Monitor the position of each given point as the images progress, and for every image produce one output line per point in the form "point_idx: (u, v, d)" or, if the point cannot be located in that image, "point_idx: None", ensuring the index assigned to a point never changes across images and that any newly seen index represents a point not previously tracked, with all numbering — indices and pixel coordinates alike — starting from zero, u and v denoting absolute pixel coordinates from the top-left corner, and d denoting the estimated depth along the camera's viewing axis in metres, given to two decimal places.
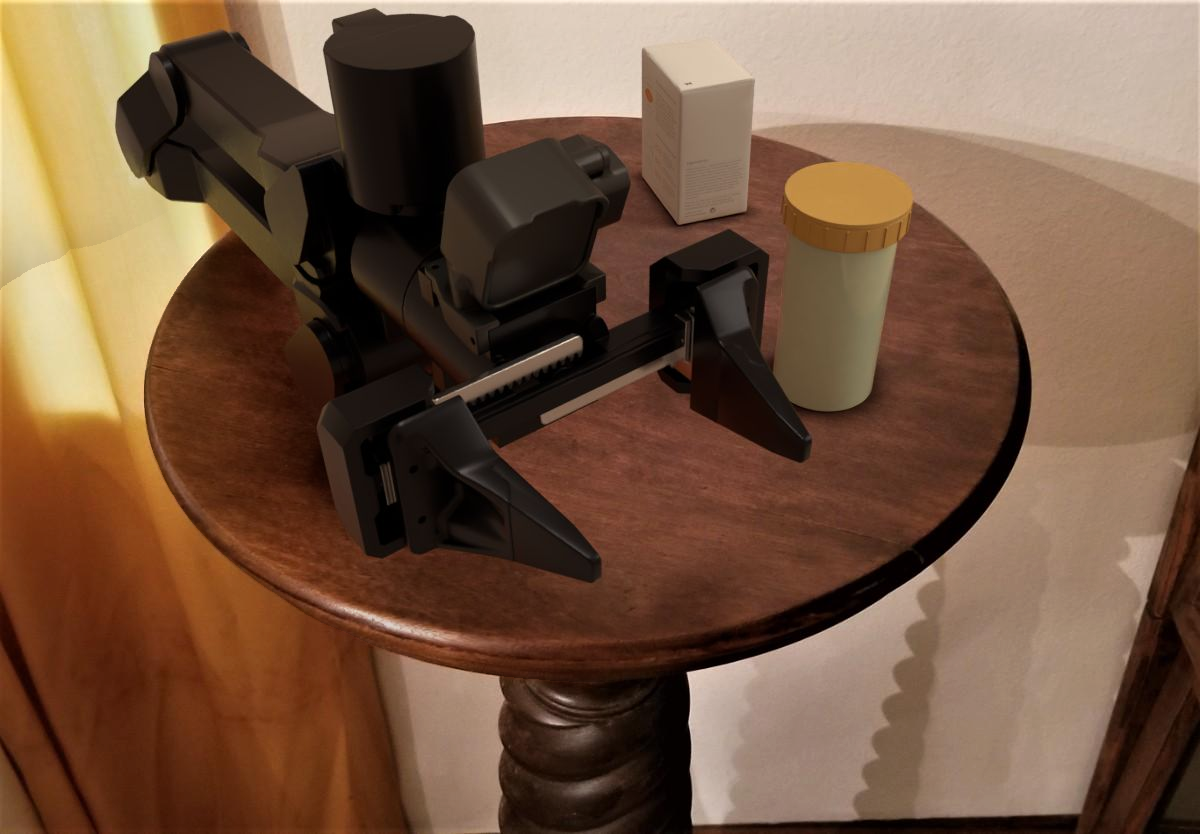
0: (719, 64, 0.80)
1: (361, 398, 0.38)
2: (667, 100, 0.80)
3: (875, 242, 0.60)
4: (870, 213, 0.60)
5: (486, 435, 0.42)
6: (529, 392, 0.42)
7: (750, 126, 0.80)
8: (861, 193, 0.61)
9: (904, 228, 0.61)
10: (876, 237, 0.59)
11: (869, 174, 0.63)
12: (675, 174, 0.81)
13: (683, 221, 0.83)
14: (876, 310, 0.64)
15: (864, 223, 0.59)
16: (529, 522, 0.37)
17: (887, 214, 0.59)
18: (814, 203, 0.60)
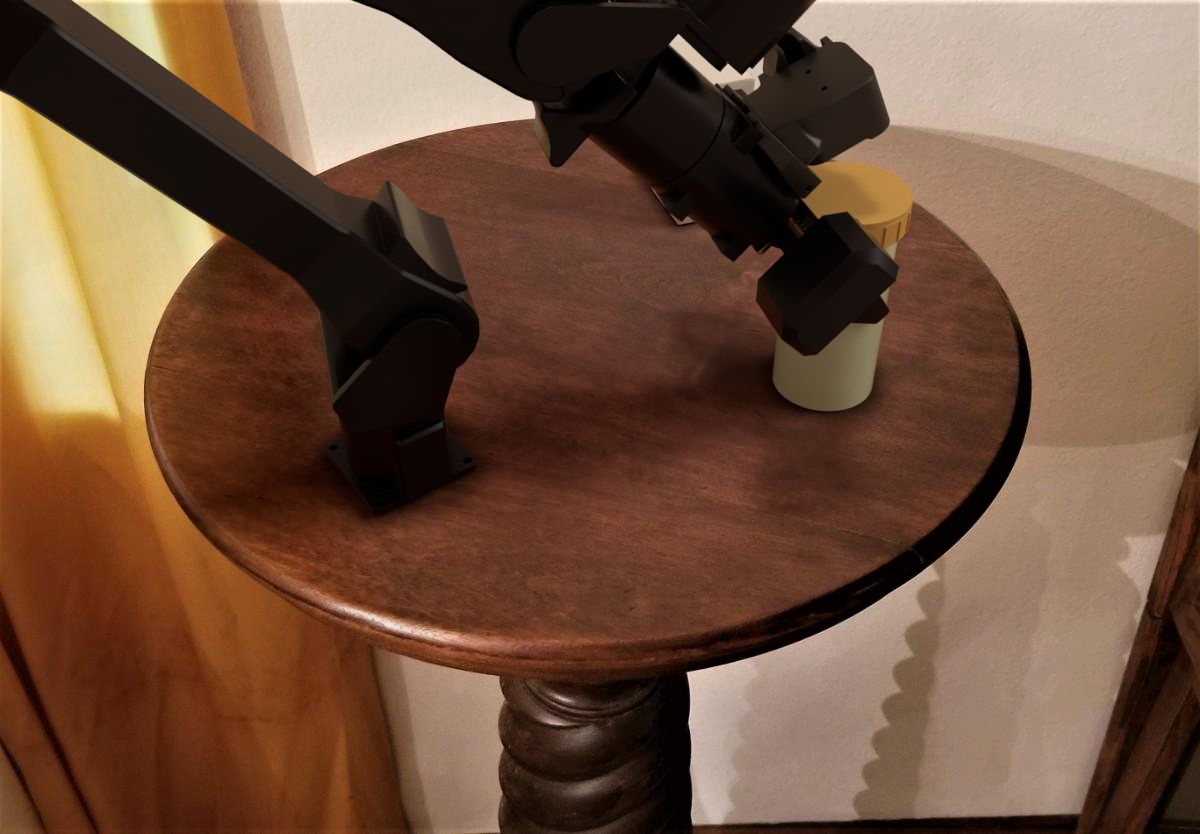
0: None
1: (875, 243, 0.54)
2: None
3: None
4: (869, 213, 0.60)
5: None
6: (788, 221, 0.59)
7: None
8: (861, 193, 0.61)
9: (904, 228, 0.61)
10: (875, 237, 0.59)
11: (869, 174, 0.63)
12: None
13: (683, 221, 0.83)
14: None
15: (863, 223, 0.59)
16: None
17: (886, 214, 0.59)
18: (814, 202, 0.60)
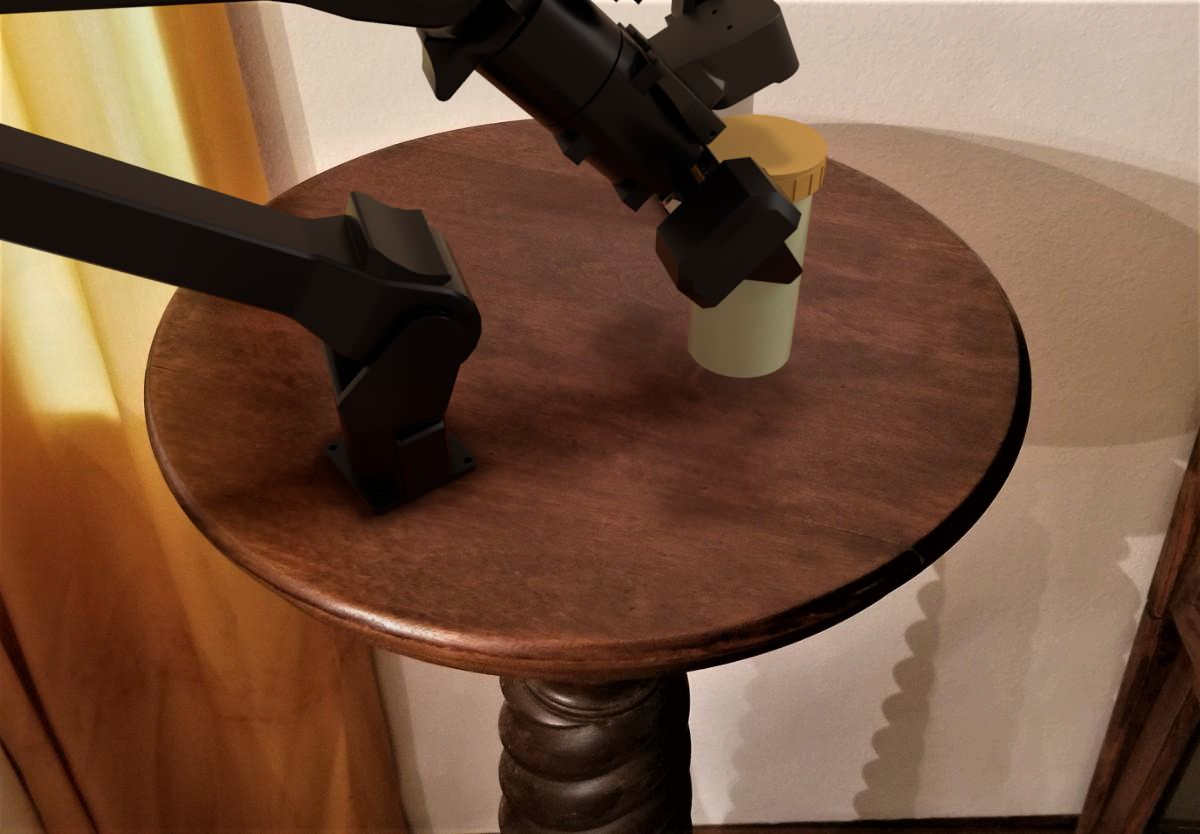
0: None
1: (777, 188, 0.51)
2: None
3: None
4: (780, 164, 0.57)
5: None
6: (694, 170, 0.56)
7: None
8: (773, 145, 0.58)
9: (817, 182, 0.58)
10: (785, 189, 0.57)
11: (785, 127, 0.60)
12: None
13: None
14: None
15: (772, 173, 0.56)
16: (786, 251, 0.58)
17: (797, 165, 0.57)
18: (723, 153, 0.58)
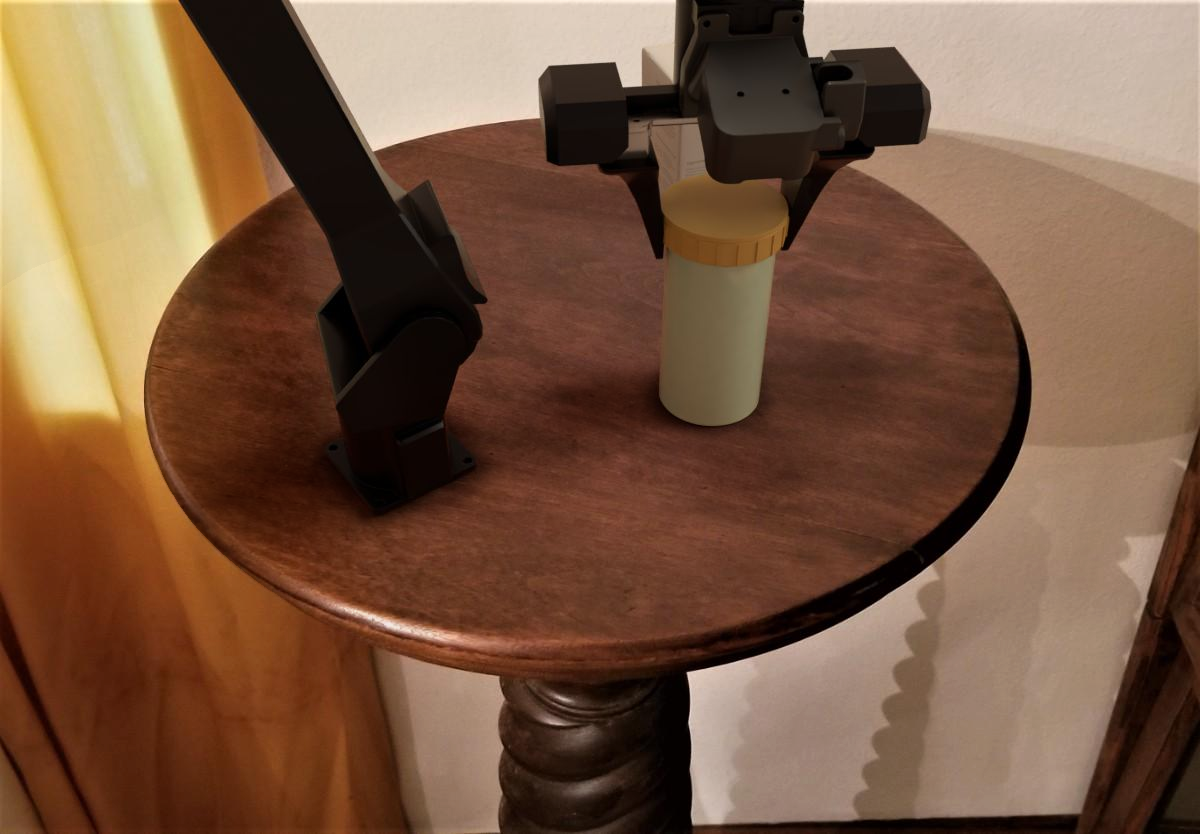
0: None
1: (576, 140, 0.54)
2: None
3: (747, 256, 0.59)
4: (742, 226, 0.59)
5: None
6: None
7: None
8: (736, 206, 0.60)
9: (778, 242, 0.60)
10: (747, 251, 0.59)
11: (748, 187, 0.62)
12: (675, 174, 0.81)
13: None
14: (754, 324, 0.63)
15: (734, 237, 0.58)
16: None
17: (759, 228, 0.59)
18: (687, 215, 0.60)
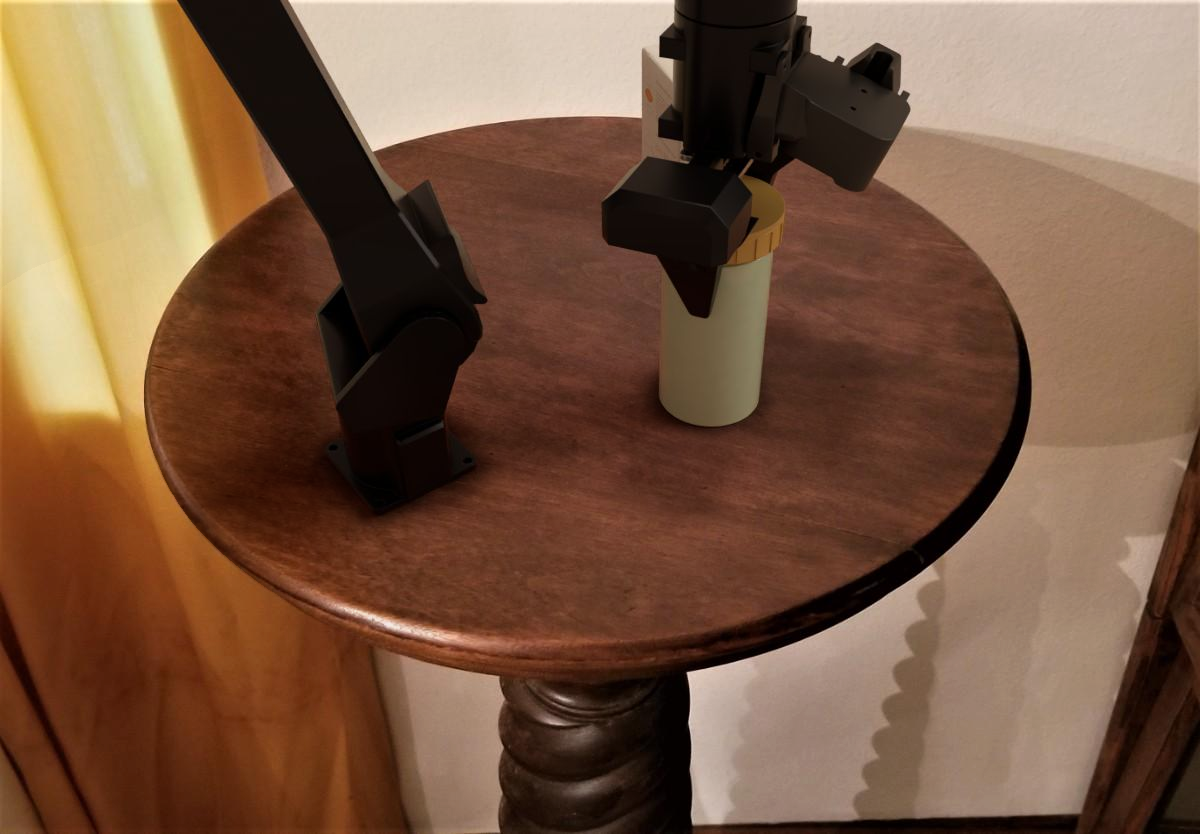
0: None
1: (734, 229, 0.52)
2: (667, 100, 0.80)
3: (782, 230, 0.60)
4: (765, 208, 0.60)
5: None
6: (725, 165, 0.57)
7: None
8: None
9: None
10: None
11: None
12: None
13: None
14: (753, 325, 0.63)
15: (777, 217, 0.59)
16: (710, 289, 0.59)
17: (775, 201, 0.60)
18: None
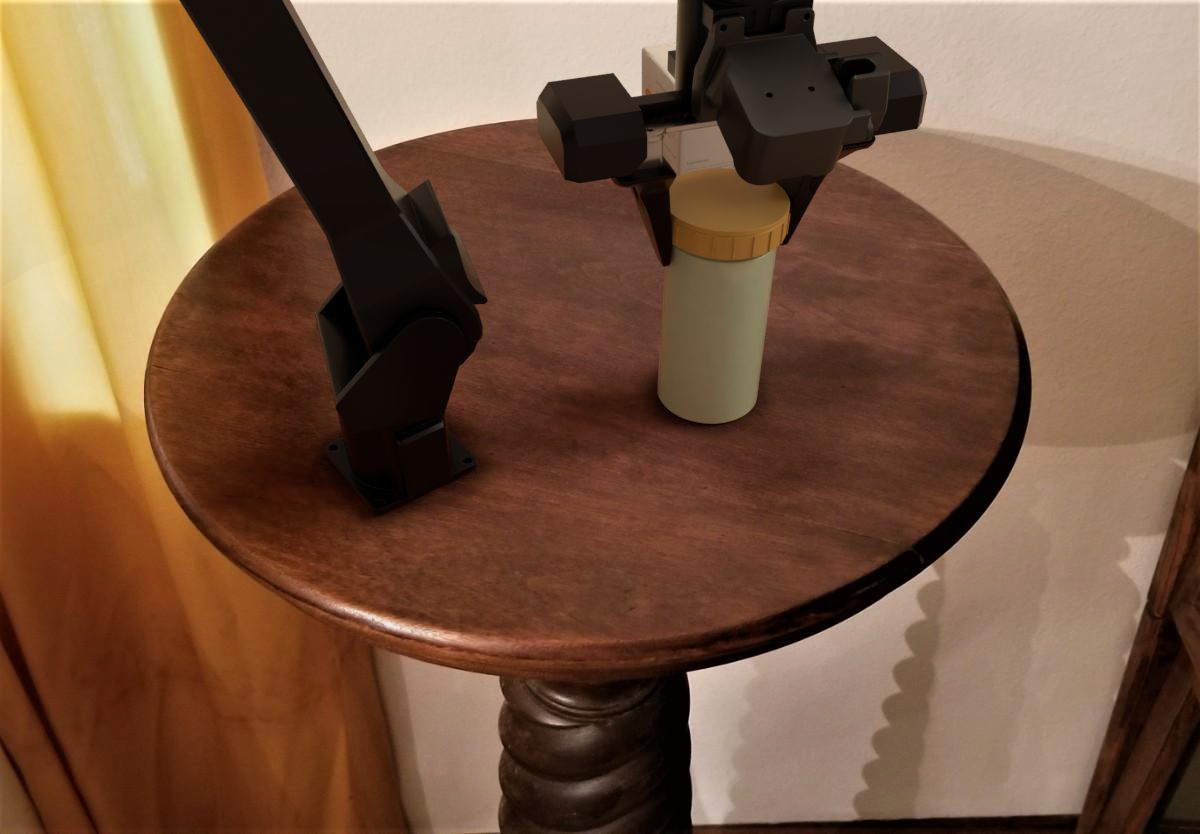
0: None
1: (596, 155, 0.53)
2: None
3: None
4: (771, 200, 0.60)
5: None
6: None
7: None
8: (733, 193, 0.61)
9: None
10: None
11: (701, 179, 0.62)
12: None
13: None
14: (755, 322, 0.63)
15: (785, 209, 0.60)
16: (653, 234, 0.59)
17: (778, 193, 0.61)
18: (734, 220, 0.59)
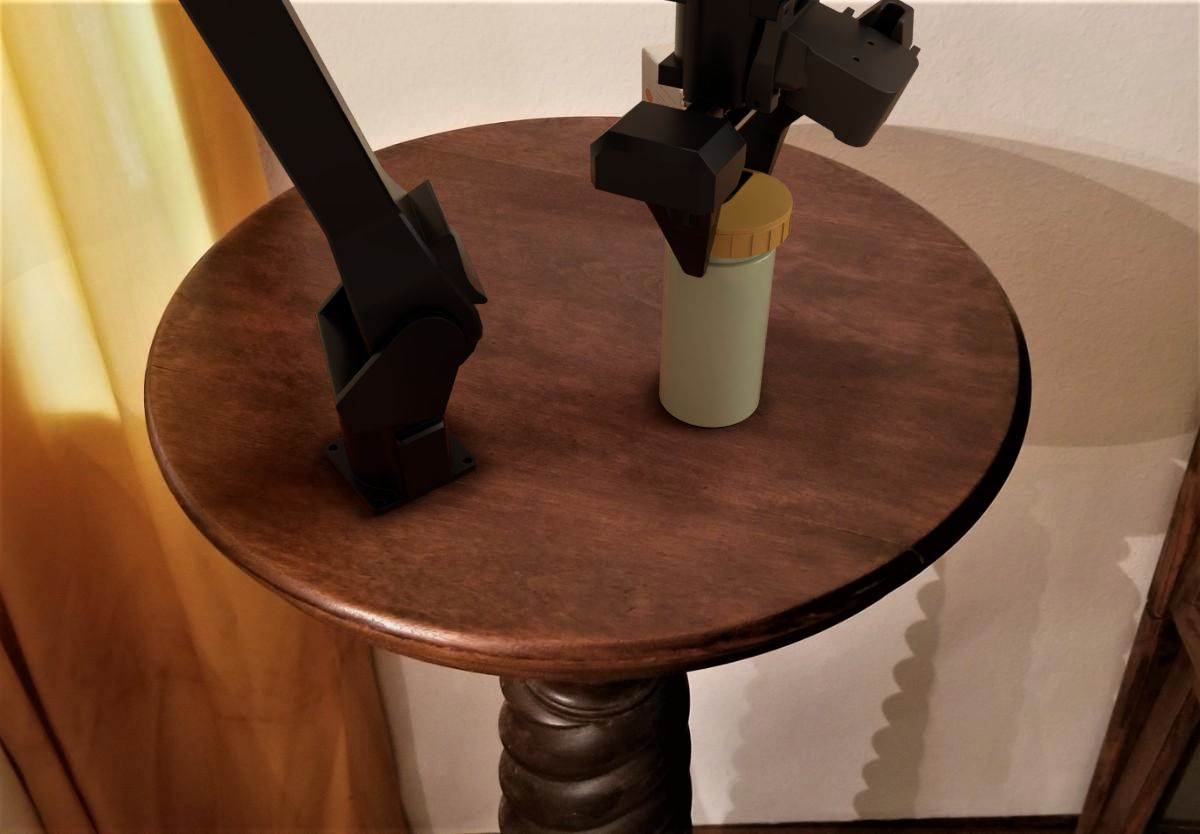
0: None
1: (723, 177, 0.50)
2: (667, 100, 0.80)
3: None
4: None
5: None
6: None
7: None
8: None
9: None
10: None
11: None
12: None
13: None
14: (758, 323, 0.63)
15: None
16: (703, 247, 0.57)
17: None
18: (766, 188, 0.61)
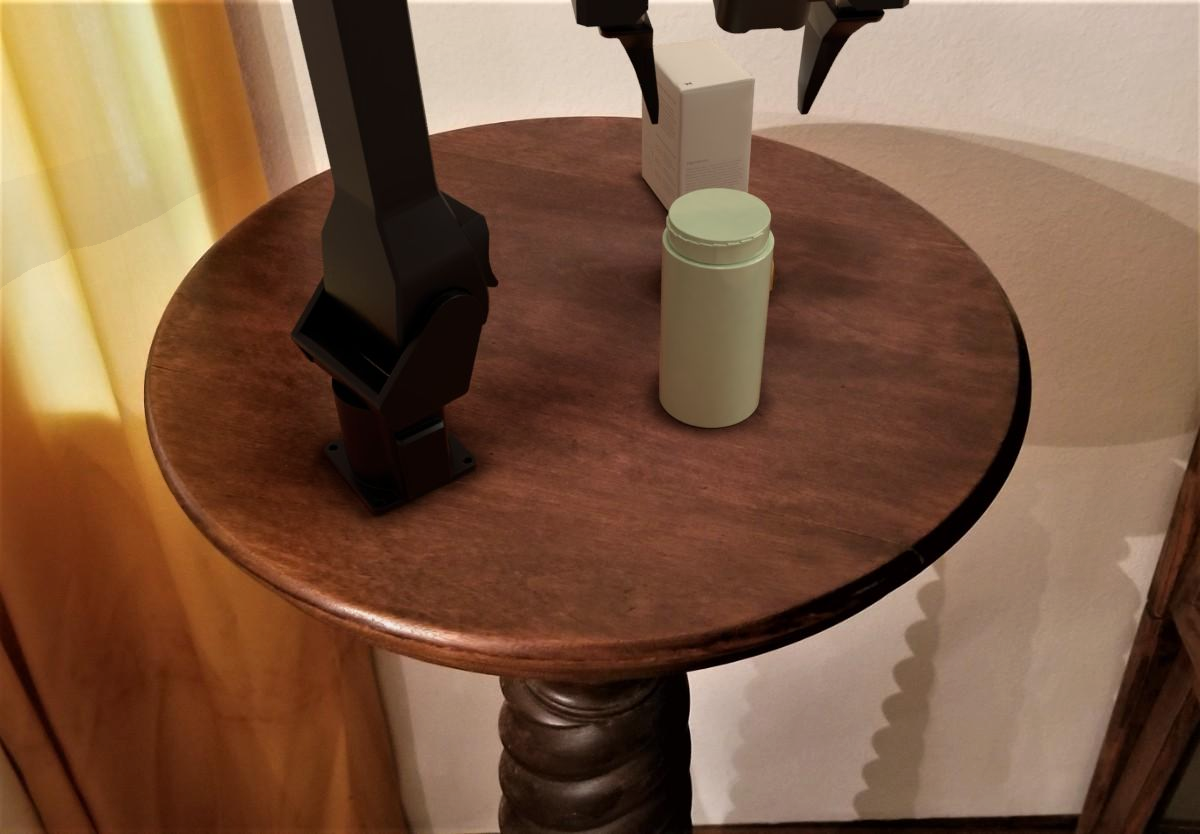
0: (719, 64, 0.80)
1: (603, 2, 0.62)
2: (667, 100, 0.80)
3: None
4: None
5: None
6: None
7: (750, 126, 0.80)
8: None
9: None
10: None
11: None
12: (675, 174, 0.81)
13: None
14: (756, 324, 0.63)
15: None
16: (641, 90, 0.68)
17: None
18: None
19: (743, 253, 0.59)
